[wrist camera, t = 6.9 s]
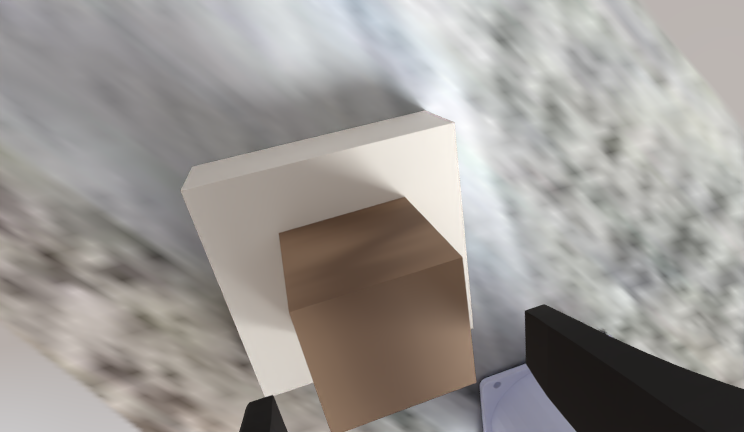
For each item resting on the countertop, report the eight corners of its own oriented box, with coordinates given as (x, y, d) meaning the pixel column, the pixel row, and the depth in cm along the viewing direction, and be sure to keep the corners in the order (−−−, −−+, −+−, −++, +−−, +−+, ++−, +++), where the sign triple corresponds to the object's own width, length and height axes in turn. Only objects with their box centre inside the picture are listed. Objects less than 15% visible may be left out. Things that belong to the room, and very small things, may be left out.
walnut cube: (404, 196, 16) (462, 257, 12) (422, 298, 18) (476, 382, 14) (278, 232, 15) (288, 312, 11) (312, 335, 18) (332, 436, 13)
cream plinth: (420, 108, 19) (454, 122, 15) (443, 289, 23) (473, 328, 20) (193, 162, 17) (180, 190, 14) (263, 346, 21) (265, 398, 18)
